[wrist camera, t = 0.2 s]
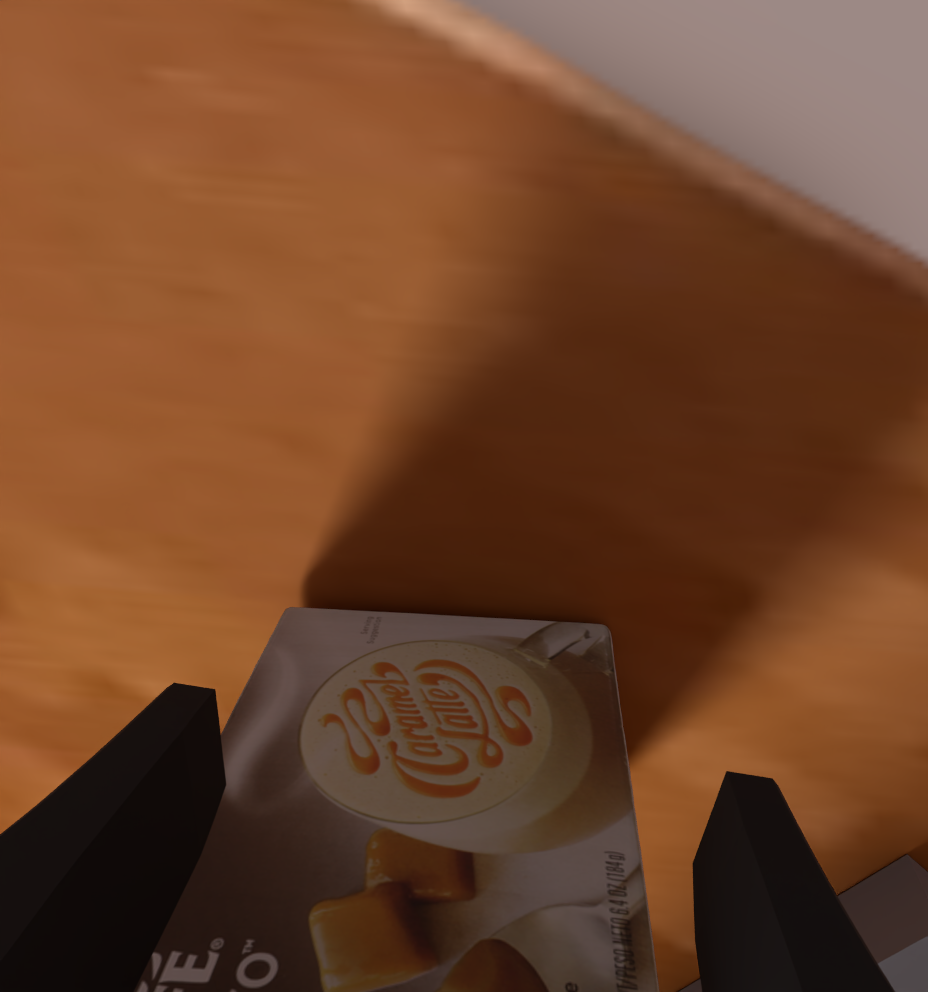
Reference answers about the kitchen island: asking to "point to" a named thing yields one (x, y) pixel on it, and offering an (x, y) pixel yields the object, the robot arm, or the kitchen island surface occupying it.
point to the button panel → (890, 923)
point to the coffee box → (419, 817)
